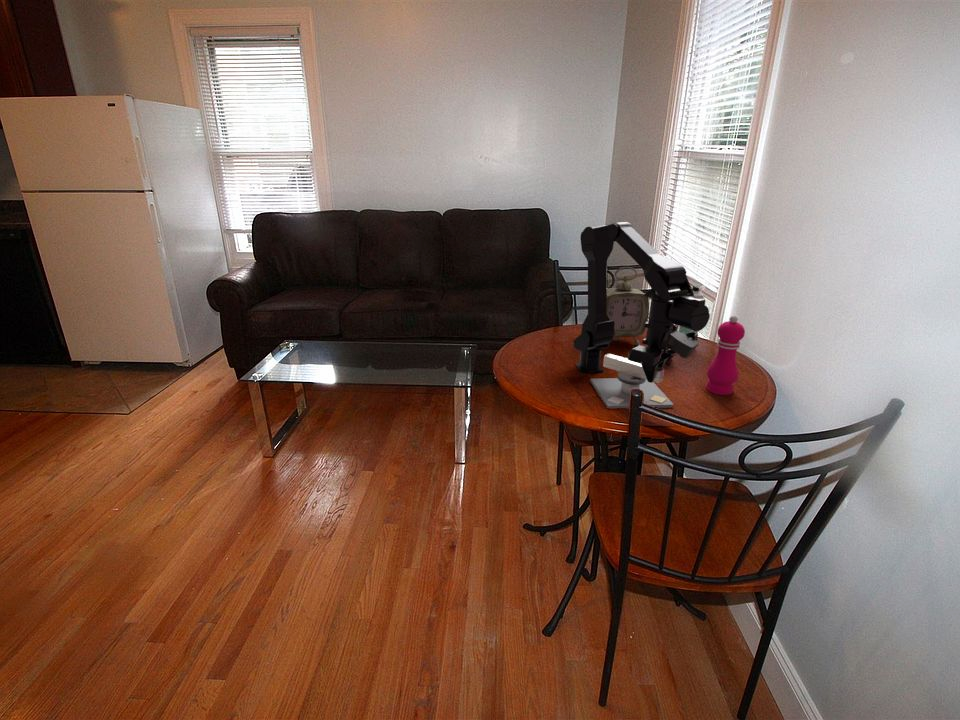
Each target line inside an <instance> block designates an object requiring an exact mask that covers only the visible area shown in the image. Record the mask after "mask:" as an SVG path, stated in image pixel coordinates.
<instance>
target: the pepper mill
mask: <svg viewBox="0 0 960 720" xmlns="http://www.w3.org/2000/svg"><path fill="white" fill-rule="evenodd" d="M745 331H746V330H745V328H744V325H742V323H740V322H738V317H737V315H732V316H730V317H729V321H724V322H722V323H721V324H720V325H719V326H718V328H717V333H716V334H717V336H718V339H717V343H716V344H717V346H718V348H717V349H718V351H717V353H716V356H715V357H714V359H713V361H712V362H711V363H710V364H709V366H708V368H707V372H706V376H707V378H708V380H707V382H706V390H707V391H709V392H710V393H712V394H715V395H719V396H720V395H721V396H729V395H732V394H733V391H734V388H735V386H734V384H735V383H736V382H737V381H738V379H739V369H738V366H737V361H736V360H737V359H736V354H737V351H738V349H740V345H741V342H740V341H741V340H743V339H744V337H745V333H746V332H745Z"/></svg>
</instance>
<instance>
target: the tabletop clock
mask: <svg viewBox="0 0 960 720" xmlns="http://www.w3.org/2000/svg"><path fill="white" fill-rule="evenodd" d="M623 270H632V271H633V272H634V273H635V275H634V276H633V277H628V276H627V275H624V276H623V277H622V278H621V277H619V276H617V273H618V272H620V271H623ZM637 276H638V271H637V270H636V269H635V268H634V267H631V266H624V267H623V266H622V267H619V268H617V270H616V271H615V272H614V277H615V278H616V279H617V280H620V281H619V282H618V283H617V284H616V286H615V287H610V288H607V315H608V317H609V319H610V320H613V321H614V323H615V325H614V332H615V335H613V340H614V341H616V342H617V341H619V340H620V338H629V337H630V338H631V337H632V338H633V340H634V345H636V346H639V345H640V343H641V342H640V340H639V339H637V337H639V336H641V335H643V334H644V332H645V330H646V329H647V328H646V327H644V326H645V323H646V322H648V320H649V312H650V298H649V297H645V296H644V294H645V292H643V291H641V290H639V289H637V288H634V286H633V284H632V283H631V282H630V281H631V280H634V279H635V278H636V277H637Z"/></svg>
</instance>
